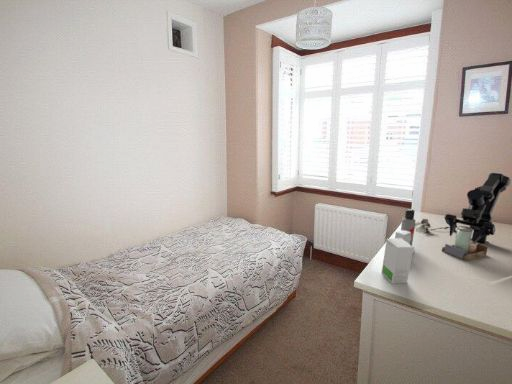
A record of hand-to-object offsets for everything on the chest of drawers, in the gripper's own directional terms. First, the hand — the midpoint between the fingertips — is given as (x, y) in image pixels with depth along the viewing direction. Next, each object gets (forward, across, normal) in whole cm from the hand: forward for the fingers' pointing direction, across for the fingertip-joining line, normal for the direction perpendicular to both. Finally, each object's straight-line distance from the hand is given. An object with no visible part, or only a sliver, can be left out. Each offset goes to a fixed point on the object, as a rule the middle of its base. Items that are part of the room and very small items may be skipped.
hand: (461, 238), depth 126 cm
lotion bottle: (+14, -19, -2) cm, 24 cm away
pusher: (+8, -1, +3) cm, 8 cm away
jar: (0, +2, +11) cm, 11 cm away
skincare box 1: (+22, -16, -10) cm, 29 cm away
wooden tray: (+3, +1, +9) cm, 10 cm away
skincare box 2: (+37, -7, -24) cm, 44 cm away
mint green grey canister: (+5, 0, +7) cm, 8 cm away
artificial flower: (-11, -20, +24) cm, 33 cm away
